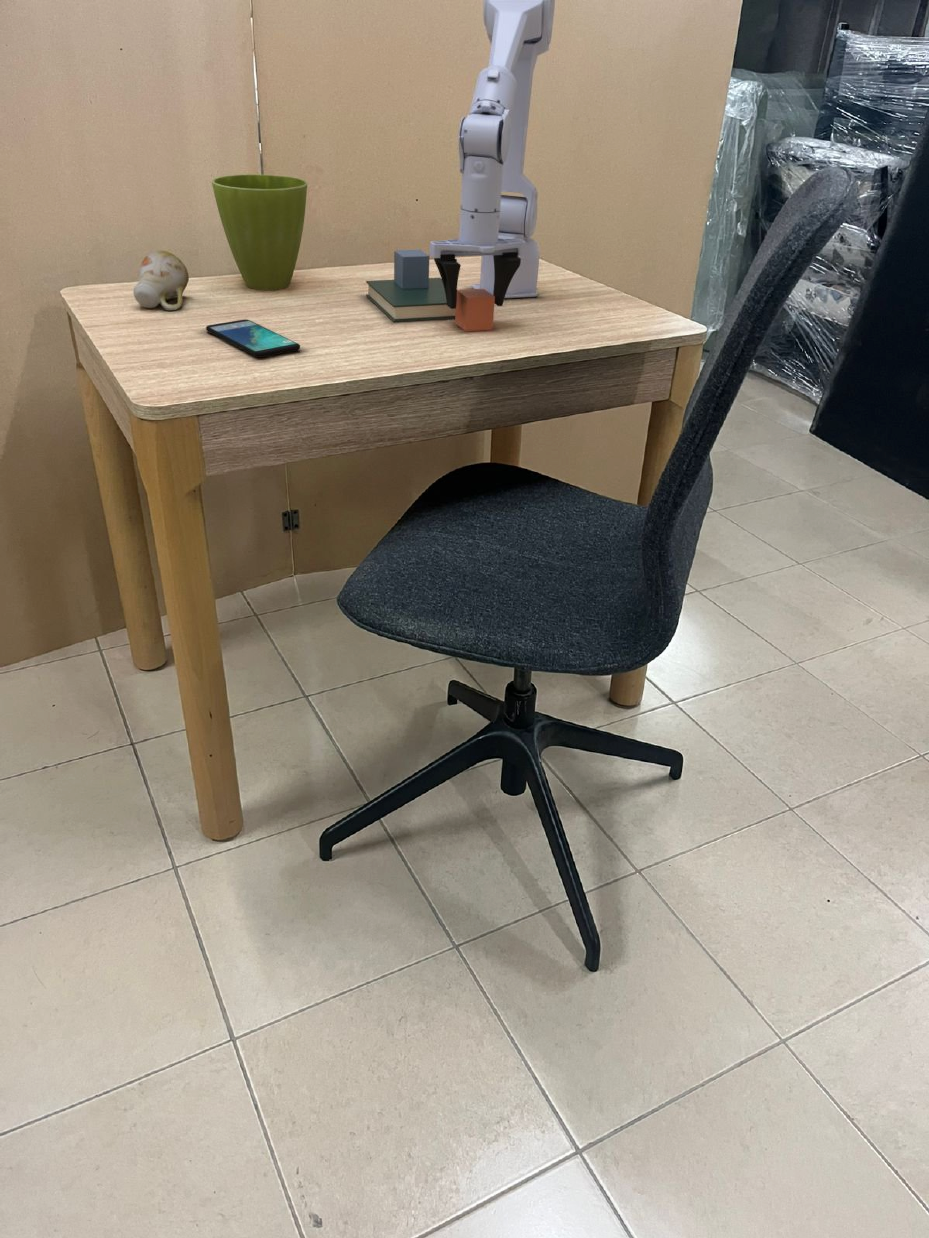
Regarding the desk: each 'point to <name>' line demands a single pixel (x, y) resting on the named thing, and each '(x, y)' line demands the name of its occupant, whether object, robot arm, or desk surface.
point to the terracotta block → (474, 309)
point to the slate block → (411, 269)
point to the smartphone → (253, 338)
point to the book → (410, 301)
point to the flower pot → (262, 225)
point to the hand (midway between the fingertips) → (474, 305)
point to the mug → (161, 280)
